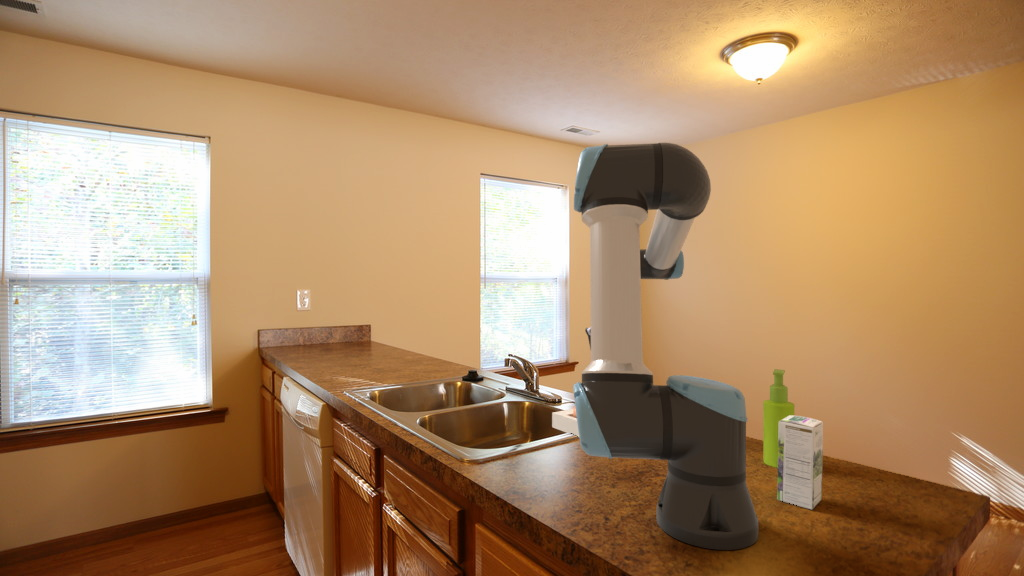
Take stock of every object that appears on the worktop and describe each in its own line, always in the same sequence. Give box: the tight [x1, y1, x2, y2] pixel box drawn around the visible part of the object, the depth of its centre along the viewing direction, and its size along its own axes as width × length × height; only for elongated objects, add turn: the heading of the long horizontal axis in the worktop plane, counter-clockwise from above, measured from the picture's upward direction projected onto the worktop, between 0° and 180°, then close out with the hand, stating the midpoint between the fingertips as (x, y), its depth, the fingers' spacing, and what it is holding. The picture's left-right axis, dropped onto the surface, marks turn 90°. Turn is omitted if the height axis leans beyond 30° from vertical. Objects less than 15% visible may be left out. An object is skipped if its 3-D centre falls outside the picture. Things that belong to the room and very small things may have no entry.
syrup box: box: [776, 415, 824, 510], centre depth 89 cm, size 6×6×14 cm
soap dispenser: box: [762, 368, 795, 469], centre depth 108 cm, size 6×7×20 cm
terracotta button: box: [572, 406, 577, 418], centre depth 132 cm, size 5×5×3 cm
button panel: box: [551, 408, 579, 438], centre depth 137 cm, size 26×14×4 cm, turn 125°
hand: (605, 388), depth 136 cm, fingers closed
